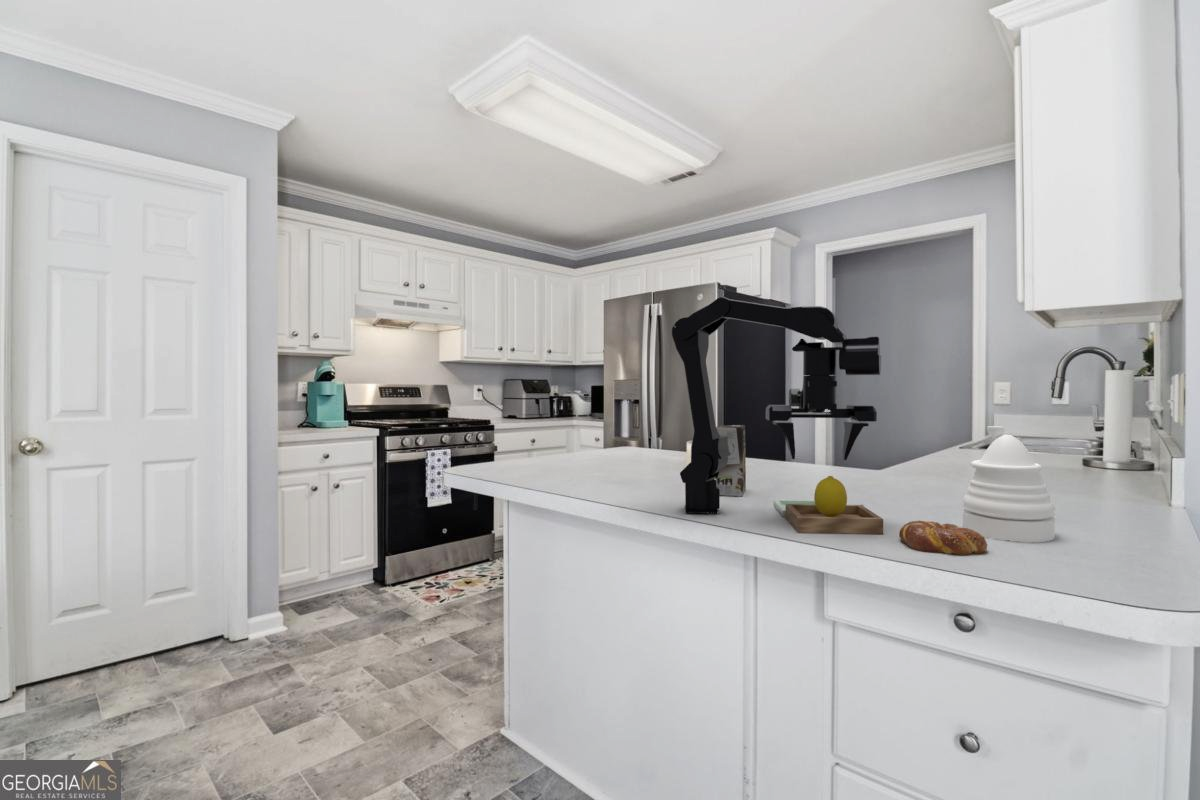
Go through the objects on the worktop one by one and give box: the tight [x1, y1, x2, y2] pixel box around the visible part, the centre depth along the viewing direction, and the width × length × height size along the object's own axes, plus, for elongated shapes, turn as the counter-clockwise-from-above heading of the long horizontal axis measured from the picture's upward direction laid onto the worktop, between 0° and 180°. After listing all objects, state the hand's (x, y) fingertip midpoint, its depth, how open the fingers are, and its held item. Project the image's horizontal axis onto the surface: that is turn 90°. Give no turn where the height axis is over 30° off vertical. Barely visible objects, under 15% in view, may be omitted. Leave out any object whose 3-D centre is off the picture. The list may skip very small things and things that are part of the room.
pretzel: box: [898, 520, 988, 556], centre depth 92 cm, size 12×11×4 cm
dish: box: [772, 499, 815, 518], centre depth 119 cm, size 11×11×1 cm
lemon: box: [813, 475, 848, 517], centre depth 107 cm, size 6×6×8 cm
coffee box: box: [715, 424, 747, 497], centre depth 140 cm, size 9×6×16 cm
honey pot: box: [962, 425, 1056, 543], centre depth 100 cm, size 13×13×18 cm
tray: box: [785, 504, 884, 535], centre depth 107 cm, size 14×12×3 cm
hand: (818, 459), depth 109 cm, fingers open, 9 cm apart
